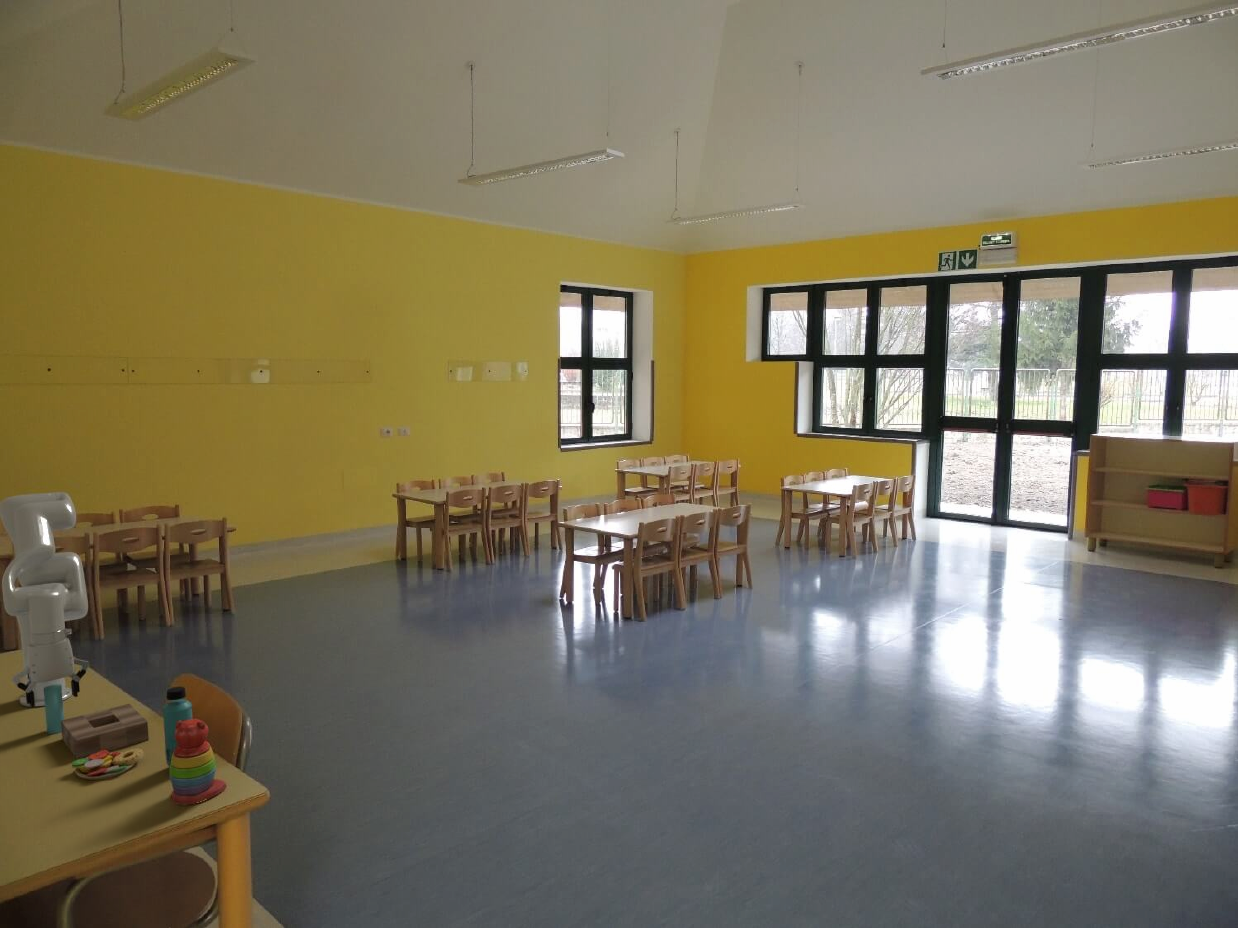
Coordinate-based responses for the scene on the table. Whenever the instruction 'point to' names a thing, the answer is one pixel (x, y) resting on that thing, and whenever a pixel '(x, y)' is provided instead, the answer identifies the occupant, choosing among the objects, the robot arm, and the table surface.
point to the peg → (53, 708)
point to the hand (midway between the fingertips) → (53, 700)
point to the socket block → (104, 730)
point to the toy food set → (106, 764)
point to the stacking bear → (193, 764)
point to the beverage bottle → (174, 717)
